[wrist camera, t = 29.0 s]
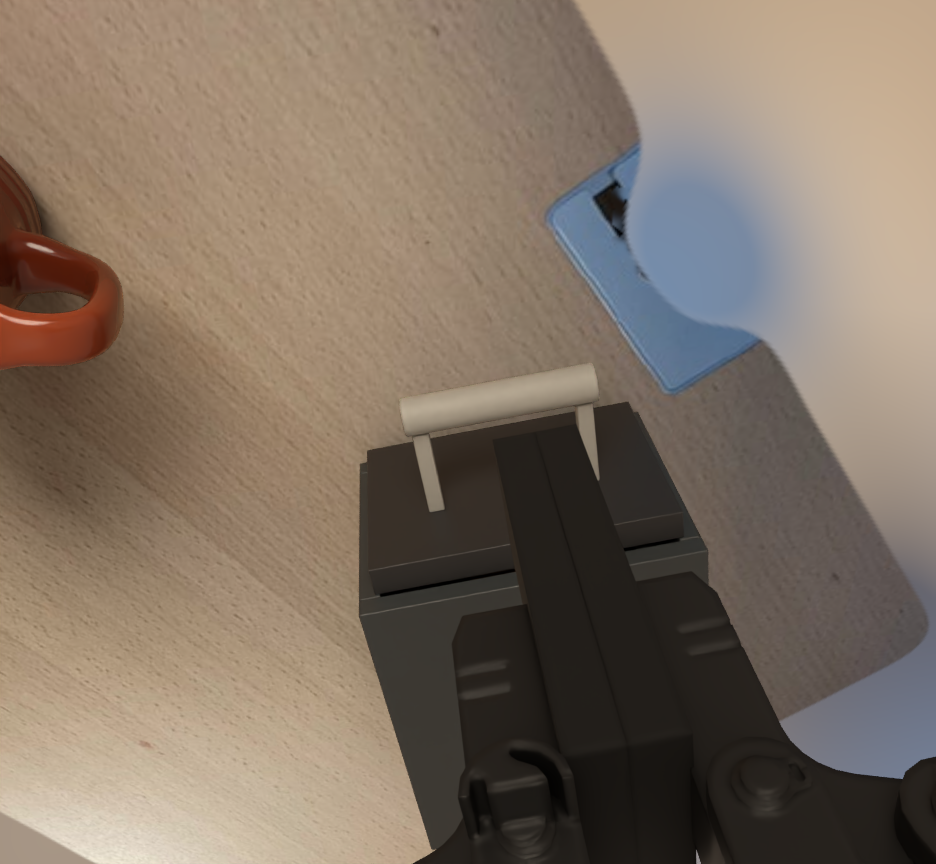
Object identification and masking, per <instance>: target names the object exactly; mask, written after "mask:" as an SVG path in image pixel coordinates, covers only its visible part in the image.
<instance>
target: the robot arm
mask: <svg viewBox="0 0 936 864" xmlns="http://www.w3.org/2000/svg"><path fill="white" fill-rule="evenodd" d="M492 441H493V447H494V453H495V458H496V464H497V470H498V476H499V482H500V487H501V493H502V499H503V505H504V511H505V516H506V522H507V528H508V534H509V540H510V545H511V551H512V557H513V562H514V566H515V571H516V576H517V580H518V585H519V590H520V594H521V599H522V604H523V605H518V606H512V607H507V608H502V609H496V610H491V611H485V612H480V613H475V614H469V615H464V616H462V618H461V620H460V623H459V626H458V628H457V631H456V633H455V636H454V639H453V641H452V652H453V661H454V670H455V676H456V678H455V679H456V688H457V697H458V706H459V715H460V724H461V733H462V742H463V751H464V760H465V769H464V771H463V773H462V774H461V776H460V781H459V790H458V800H459V804H460V808H461V811H462V815H463V818H462V820H461V822H460V824H459V825H458V827H457V829H456V831H455V832H454V833H453V834H452V835H451V837H450V838H449V839H448V840H447V841H446V842H445V843H444V844H443V845H442V846H441V847H439V848H438V849H436V850H435V851H433V852H432V853H430V854H429V855H427V856H426V857H424V858H422V859H420V860H418V861H416V862H415V863H413V864H696V850H697V852H698V855H699V858H700V862H701V864H936V757H932V758H928V759H923V760H920V761H919V762H918V763H916V764H915V765H914V766H912V767H911V768H910V769H909V770H907V771H906V772H905V775H904V777H903V779H895V778H887V777H878V776H869V775H860V774H853V773H848V772H844V771H838V770H835V769H832V768H830V767H828V766H825V765H823V764H821V763H818V762H816V761H815V760H813V759H812V758H810V757H809V756H807V755H806V754H804V753H803V752H802V751H801V750H800V749H799V748H798V747H796V746H795V745H794V744H793V743H792V742H791V741H790V739H789V738H788V736H787V735H786V733H785V732H784V730H783V728H782V727H781V725H780V723H779V721H778V718H777V716H776V714H775V712H774V710H773V708H772V706H771V704H770V702H769V700H768V698H767V696H766V694H765V692H764V689H763V687H762V685H761V683H760V681H759V679H758V677H757V675H756V673H755V671H754V669H753V667H752V665H751V663H750V660H749V658H748V656H747V654H746V652H745V650H744V648H743V647H741V643H740V640H739V638H738V636H737V634H736V631H735V629H734V627H733V625H731V624H730V619H729V617H728V615H727V613H726V611H725V609H724V607H723V605H722V602H721V600H720V598H719V596H718V594H717V592H716V591H714V590H713V589H712V588H711V587H710V586H709V585H707V584H706V583H705V582H704V581H703V580H702V579H700V578H699V577H698V576H697V575H696V574H694V573H693V572H692V571H689V572H684V573H678V574H673V575H668V576H662V577H657V578H651V579H646V580H641V581H635V578H634V575H633V573H632V570H631V567H630V565H629V562H628V559H627V557H626V554H625V551H624V549H623V546H622V543H621V541H620V538H619V536H618V533H617V530H616V528H615V525H614V522H613V520H612V517H611V514H610V512H609V509H608V506H607V504H606V501H605V498H604V496H603V493H602V491H601V488H600V485H599V483H598V480H597V477H596V475H595V472H594V469H593V467H592V464H591V461H590V459H589V456H588V453H587V451H586V448H585V446H584V443H583V440H582V438H581V435H580V432H579V430H578V427H577V424H573V425H568V426H563V427H557V428H552V429H547V430H541V431H536V432H531V433H525V434H520V435H515V436H509V437H504V438H499V439H493V440H492Z"/></svg>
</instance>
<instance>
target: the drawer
mask: <svg viewBox="0 0 936 864" xmlns="http://www.w3.org/2000/svg"><path fill="white" fill-rule="evenodd" d="M598 400H599V385H598V379H597V375H596V371H595V368H594V366H593V364H592V363H586V364H580V365H575V366H569V367H564V368H559V369H553V370H548V371H543V372H537V373H532V374H527V375H521V376H516V377H511V378H505V379H500V380H495V381H489V382H484V383H479V384H473V385H468V386H463V387H457V388H452V389H447V390H441V391H436V392H431V393H425V394H420V395H415V396H409V397H404V398H400V399H399V407H400V414H401V419H402V424H403V428H404V432H405V435H406V436H408V437H409V436H412V438H413V442H410V443H404V444H399V445H394V446H388V447H383V448H378V449H372V450H368V451H367V479H368V572H369V576H370V579H371V583H372V586H373V590H374V593H375V594H376V595H377V594H382V593H387V592H393V591H398V590H400V593H405V592H411V591H416V590H421V589H427V588H432V587H437V586H443V585H448V584H454V583H459V582H464V581H470V580H471V577H473V576H478V575H484V574H489V573H494V572H500V571H505V570H510V569H515V566H514V562H513V557H512V551H511V545H510V540H509V534H508V528H507V522H506V516H505V511H504V505H503V499H502V493H501V487H500V482H499V476H498V470H497V464H496V458H495V453H494V447H493V441H492V440H493V439H499V438H504V437H509V436H515V435H520V434H525V433H531V432H536V431H541V430H547V429H552V428H557V427H563V426H568V425H573V424H577V427H578V430H579V432H580V435H581V438H582V440H583V443H584V446H585V448H586V451H587V453H588V456H589V459H590V461H591V464H592V467H593V469H594V472H595V475H596V477H597V480H598V483H599V485H600V488H601V491H602V493H603V496H604V498H605V501H606V504H607V506H608V509H609V512H610V514H611V517H612V520H613V522H614V525H615V528H616V530H617V533H618V536H619V538H620V541H621V543H622V546H623V549H624V551H630V550H635V549H641V548H646V547H651V546H656V544H655V542H660V541H665V540H671V539H676V538H681V537H684V525H683V511H682V509H681V507H680V505H679V503H678V501H677V499H676V497H675V495H674V493H673V491H672V489H671V487H670V485H669V483H668V481H667V479H666V477H665V475H664V473H663V471H662V469H661V467H660V465H659V463H658V461H657V459H656V457H655V455H654V453H653V451H652V449H651V447H650V445H649V443H648V441H647V439H646V437H645V435H644V433H643V431H642V429H641V427H640V425H639V423H638V421H637V419H636V416H635V414H634V412H633V410H632V408H631V406H630V404H629V402H623V403H618V404H613V405H607V406H602V407H597V408H593V403H592V402H596V401H598ZM569 406H575V412H570V413H564V414H559V415H554V416H548V417H543V418H538V419H532V420H527V421H522V422H516V423H511V424H506V425H500V426H495V427H490V428H484V429H479V430H474V431H468V432H463V433H458V434H452V435H447V436H442V437H436V438H431V439H430V435H429V433H430V432H435V431H441V430H446V429H452V428H457V427H462V426H468V425H473V424H478V423H484V422H489V421H494V420H500V419H505V418H510V417H516V416H521V415H526V414H532V413H537V412H542V411H548V410H553V409H558V408H564V407H569Z"/></svg>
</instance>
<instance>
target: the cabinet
mask: <svg viewBox="0 0 936 864" xmlns="http://www.w3.org/2000/svg"><path fill="white" fill-rule="evenodd" d="M634 414H635V416H636V419H637V421H638V423H639V425H640V427H641V429H642V431H643V433H644V435H645V437H646V439H647V441H648V443H649V445H650V447H651V449H652V451H653V453H654V455H655V457H656V459H657V461H658V463H659V465H660V467H661V469H662V471H663V473H664V475H665V477H666V479H667V481H668V483H669V485H670V487H671V489H672V491H673V493H674V495H675V497H676V499H677V501H678V503H679V505H680V507H681V509H682V511H683V525H684V537H681V538H676V539H671V540H665V541H660V542H655V544H656V546H651V547H646V548H641V549H635V550H630V551H625V554H626V557H627V559H628V562H629V565H630V567H631V570H632V573H633V575H634V578H635V581H641V580H646V579H651V578H657V577H662V576H668V575H673V574H678V573H684V572H689V571H692V572H693V573H694V574H696V575H697V576H698V577H699V578H700V579H702V580H703V581H704V582H705V583H706V584H707V585H708V550H707V548H706V546H705V544H704V542H703V540H702V538H701V536H700V534H699V532H698V530H697V528H696V526H695V524H694V523H693V521H692V519H691V517H690V515H689V513H688V511H687V509H686V507H685V505H684V503H683V501H682V499H681V497H680V495H679V493H678V491H677V489H676V487H675V485H674V483H673V481H672V479H671V477H670V475H669V473H668V471H667V469H666V467H665V465H664V463H663V461H662V459H661V457H660V455H659V453H658V451H657V449H656V447H655V445H654V443H653V441H652V439H651V438H650V436H649V434H648V432H647V430H646V428H645V426H644V424H643V422H642V419H641V417H640V415H639V413H638V412H634ZM518 605H523V604H522V599H521V594H520V590H519V585H518V580H517V576H516V572H512V573H507V574H502V575H496V576H491V577H486V578H480V579H475V580H470V581H464V582H459V583H454V584H448V585H443V586H437V587H432V588H427V589H421V590H416V591H411V592H405V593H400V590H398V591H393V592H387V593H382V594H377V595H376V594H375V593H374V590H373V586H372V583H371V579H370V576H369V572H368V479H367V463H362V464H360V525H359V618H360V621H361V624H362V627H363V631H364V634H365V637H366V640H367V643H368V647H369V650H370V653H371V656H372V659H373V663H374V666H375V669H376V672H377V676H378V679H379V682H380V685H381V688H382V692H383V695H384V698H385V701H386V704H387V708H388V711H389V714H390V717H391V720H392V724H393V727H394V730H395V733H396V737H397V740H398V743H399V746H400V749H401V753H402V756H403V759H404V762H405V765H406V769H407V772H408V775H409V778H410V781H411V785H412V788H413V791H414V794H415V798H416V801H417V804H418V807H419V810H420V814H421V817H422V820H423V823H424V826H425V830H426V833H427V836H428V839H429V842H430V846H431V849H432V850H434V849H438V848H439V847H441V846H442V845H443V844H444V843H445V842H446V841H447V840H448V839H449V838H450V837H451V835H452V834H453V833H454V832H455V831H456V829H457V827H458V825H459V824H460V822H461V820H462V818H463V815H462V811H461V808H460V804H459V800H458V790H459V781H460V776H461V774H462V773H463V771H464V769H465V760H464V751H463V742H462V733H461V724H460V715H459V706H458V697H457V688H456V679H455V678H456V676H455V670H454V661H453V652H452V641H453V639H454V636H455V633H456V631H457V628H458V626H459V623H460V620H461V618H462V616H464V615H469V614H475V613H480V612H485V611H491V610H496V609H502V608H507V607H512V606H518Z"/></svg>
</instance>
